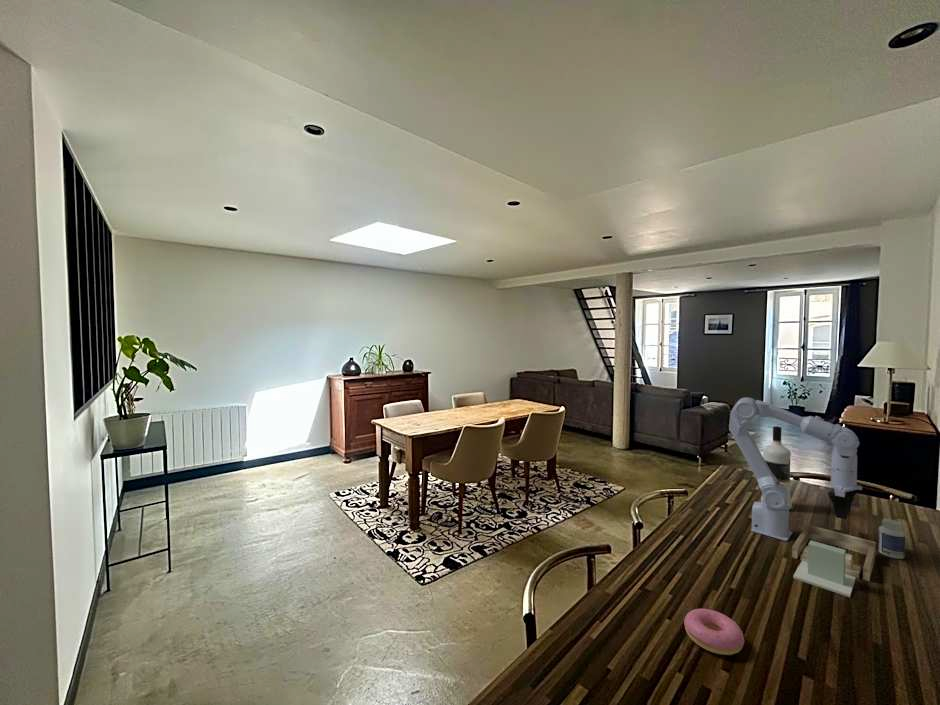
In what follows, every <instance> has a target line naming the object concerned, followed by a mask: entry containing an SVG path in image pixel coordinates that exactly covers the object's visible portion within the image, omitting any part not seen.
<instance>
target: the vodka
mask: <svg viewBox="0 0 940 705" xmlns="http://www.w3.org/2000/svg"><path fill="white" fill-rule="evenodd" d="M762 452H763V454H762V456H763V458H764V460H765V462H766V463H767V465H768V467H769V469H770V470H771V472H772V474H773V475H774V476H775V477H776V479H777V480H778V482H779V483H781V484H782V485H783V486H784V487H785V488H786V490H787V505H788V506H789V510H790V509H792V507H793V503H792V499H791V484H792V482H791V457H792V453H791V451H790V449H789V448H787V447H786V446H785V445H783V444H782V426H772V443H770V444H769V445H766V446H765V447H764V448H763V450H762ZM762 500H763V498H762V495H761V497H760V502H761V501H762Z"/></svg>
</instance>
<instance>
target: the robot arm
mask: <svg viewBox="0 0 940 705" xmlns="http://www.w3.org/2000/svg"><path fill="white" fill-rule="evenodd" d="M757 414H758V418H766V417H769V418H770V417H771V418H773V419H776V420H779V421H782V422H785V423H787V424H789V425H793V426H796V427H798V428H799V430H801V431H800V432H802V433H803V434H806V435H807V436H811V437H813V438H816V439H818V440H821V441H822V442H825V443H832V446H831V447H832V451H831V453H830V454H831V455H830V462H831V463H830V481H829V485H830V486H831V487H832V488H833V489H834V491H830V490H829V491H828V492H827V495H828V497H829V498H830V501H831V504H832V506H833V510H834V514H835V517H836V518H837V519H841V520H846V519H847V518H848V515H849V512H850V511H851V508H852V504H853V501H854V500H855V496H856V495H857V493H858V492H859V491H862V490H863V486H861V485H858V455H857V452H858V447H859V446H860V441H859V437H858V436H857V435H856V433H855V432H854V430H852V429H849V428H848V427H846V426H841V424H839V423H836V424H834V423H831V422H828V421H825V420H822V417H821V416H818V415H815V416H812V415H809V416H805V417H804V416H801V415H798V414H796V413H793V412H791V411H789V410H786V409H784V408H781V407H779V406H776V405H774V404H771V403H769V402H765V401H763V400H758V399H756V400H755V399H754V398H752V397H749V396H748V397H747V396H745V397H742V398H740V399H738V401H736V403H735V404H734V406H733V407H732V409H731V411H730V417H729V418H730V419H729V424H728V429H729V432H730V433H731V435H732V437H733V439H734V441H735V442H736V444H737V446H738V448H739V450H740V451H741V453H742V455H743V457H744V459H745V461H746V462H747V464H748V466H749V468H750V469H751V472H752V473H753V475H754V476H755V479H756V481H757V483H758V487H759V489H760V491H761V496H762V498H763V500H762V501H761V500H760V501H754V502H753V504H752V508H751V528H750V531H751V532H754V533H756V534H761V535H764V536H767V537H771V538H773V539H774V538H775V539H778V540H781V541H785V542H787V541H788V540H789V539H790V537H791V536H792V534H793V531H791V530H790V529H789V527H790V525H789V524H790V522H789V520H790V519H789V518H790V509H789V506H788V505H787V490H786V488H785V487H784V486H783V485H782V484H781V483H779V482H778V480H777V479H776V477H775V476H774V475H773V474H772V472H771V470H770V469H769V467H768V465H767V463H766V462H765V460H764V458H763V457H764V455H763V454H762V453H761V451H760V449H759V447H758V446H757V444H756V442H755V441H754V439H753V437H752V436H751V433H750V432H749V429H748V426H749V424H750V422H751V421H752V420H753V419H754V418H755V417H756V416H757Z"/></svg>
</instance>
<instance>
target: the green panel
mask: <svg viewBox="0 0 940 705" xmlns="http://www.w3.org/2000/svg"><path fill="white" fill-rule="evenodd" d="M807 546H808V574H810V575H813V576H816V577H819V578H822V579H825V580H828V581H831V582H834V583H837V584H840V585H844V582H845V554H846V552H847V551H846V550H847V549H844V548H840V547H836V546H833V545H829V544H826V543H822V542H818V541H815V540H811V539H809V542H808V545H807Z"/></svg>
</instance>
